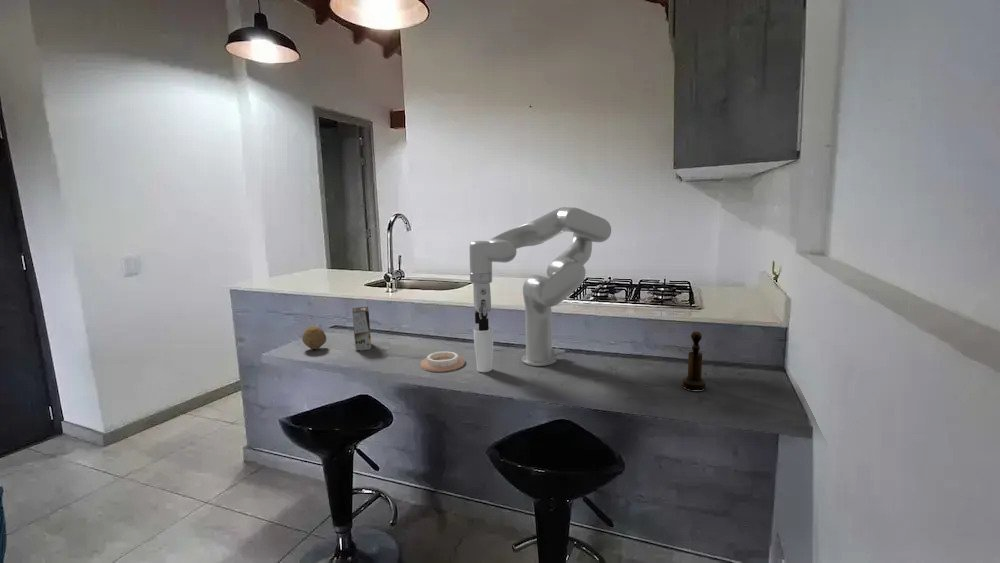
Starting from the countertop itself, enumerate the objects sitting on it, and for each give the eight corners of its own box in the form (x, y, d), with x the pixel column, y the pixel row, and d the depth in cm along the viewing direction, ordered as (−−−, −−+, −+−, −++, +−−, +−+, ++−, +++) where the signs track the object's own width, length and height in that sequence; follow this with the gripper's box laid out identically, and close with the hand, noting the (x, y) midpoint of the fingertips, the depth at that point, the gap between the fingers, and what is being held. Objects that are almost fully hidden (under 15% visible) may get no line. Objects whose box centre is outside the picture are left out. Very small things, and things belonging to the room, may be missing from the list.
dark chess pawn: (687, 382, 154) (689, 327, 150) (708, 386, 150) (711, 330, 146) (679, 389, 149) (682, 332, 145) (701, 394, 145) (704, 336, 141)
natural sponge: (297, 351, 195) (295, 327, 194) (314, 345, 203) (311, 322, 202) (315, 353, 192) (312, 329, 190) (330, 347, 200) (328, 324, 198)
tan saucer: (462, 355, 185) (462, 347, 185) (466, 369, 170) (466, 361, 169) (420, 358, 183) (419, 351, 182) (421, 373, 167) (420, 365, 167)
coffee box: (371, 349, 196) (369, 311, 193) (355, 351, 194) (352, 312, 191) (370, 343, 204) (368, 306, 202) (355, 344, 203) (352, 307, 200)
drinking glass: (491, 374, 165) (490, 331, 162) (472, 373, 166) (471, 331, 164) (496, 367, 171) (494, 326, 169) (477, 366, 173) (476, 326, 170)
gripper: (496, 281, 155) (496, 332, 158) (488, 273, 172) (488, 320, 175) (473, 282, 154) (473, 334, 157) (467, 274, 171) (468, 321, 174)
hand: (481, 326), depth 166 cm, fingers open, 9 cm apart
